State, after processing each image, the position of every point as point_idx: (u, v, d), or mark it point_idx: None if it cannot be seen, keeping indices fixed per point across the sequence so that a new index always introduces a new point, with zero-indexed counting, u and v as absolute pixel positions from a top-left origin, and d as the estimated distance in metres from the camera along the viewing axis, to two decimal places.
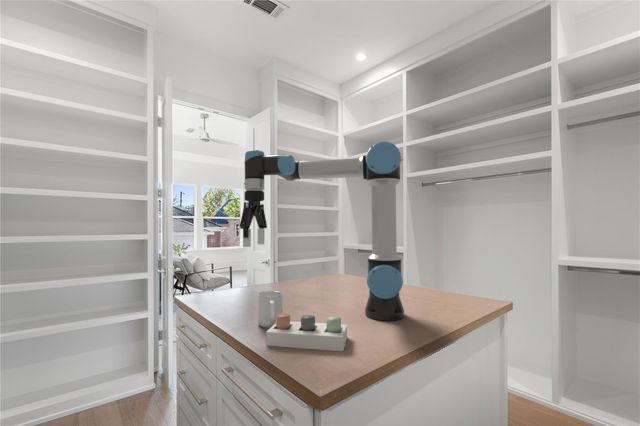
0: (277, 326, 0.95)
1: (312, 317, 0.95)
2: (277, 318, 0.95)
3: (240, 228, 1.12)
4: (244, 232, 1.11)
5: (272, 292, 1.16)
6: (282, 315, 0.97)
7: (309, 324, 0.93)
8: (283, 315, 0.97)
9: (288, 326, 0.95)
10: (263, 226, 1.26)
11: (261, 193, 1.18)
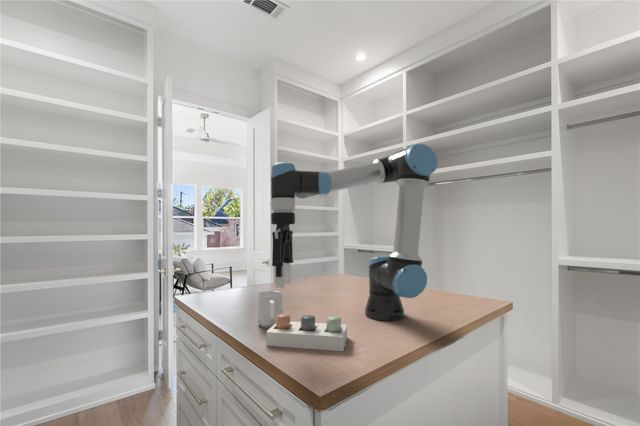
0: (277, 326, 0.95)
1: (312, 317, 0.95)
2: (277, 318, 0.95)
3: None
4: (277, 270, 0.93)
5: (272, 292, 1.16)
6: (282, 315, 0.97)
7: (309, 324, 0.93)
8: (283, 315, 0.97)
9: (288, 326, 0.95)
10: (289, 259, 1.01)
11: (292, 215, 0.96)
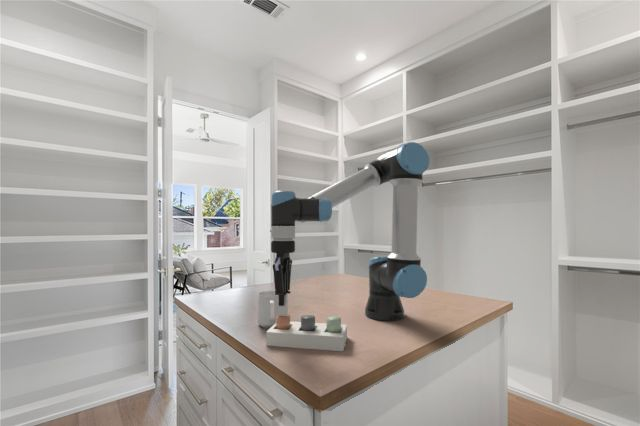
0: (277, 326, 0.95)
1: (312, 317, 0.95)
2: (277, 318, 0.95)
3: (275, 294, 0.96)
4: (280, 299, 0.95)
5: (272, 292, 1.16)
6: (282, 316, 0.97)
7: (309, 324, 0.93)
8: None
9: (288, 326, 0.95)
10: (286, 289, 0.97)
11: (292, 244, 0.96)
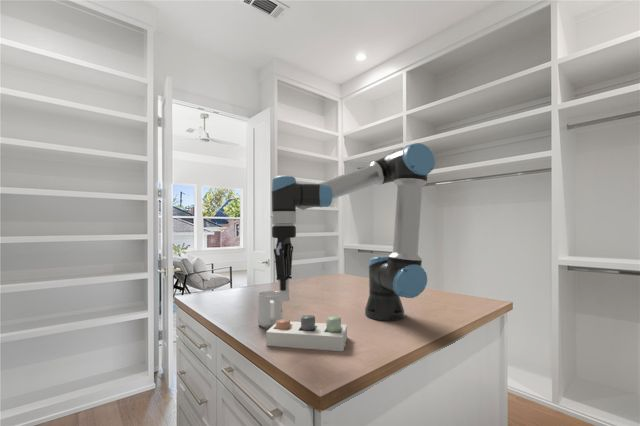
0: None
1: (312, 317, 0.95)
2: (277, 324, 0.95)
3: (277, 279, 0.96)
4: (281, 284, 0.95)
5: (272, 292, 1.16)
6: (282, 321, 0.97)
7: (309, 324, 0.93)
8: (283, 321, 0.97)
9: None
10: (288, 275, 0.98)
11: (293, 229, 0.96)
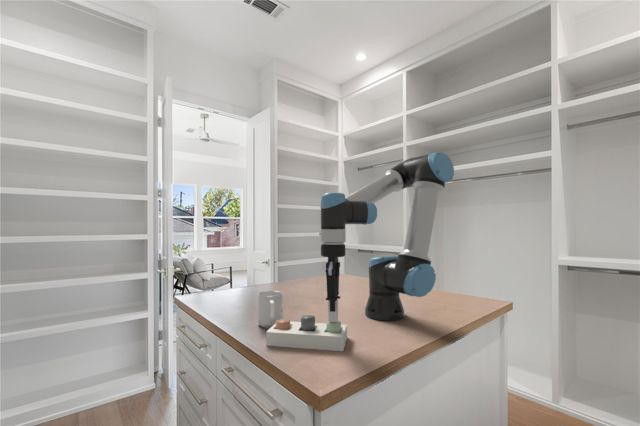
0: None
1: (312, 317, 0.95)
2: (277, 324, 0.95)
3: None
4: (331, 305, 0.92)
5: (272, 292, 1.16)
6: (282, 321, 0.97)
7: (309, 324, 0.93)
8: (283, 321, 0.97)
9: None
10: (336, 294, 0.94)
11: (343, 248, 0.92)
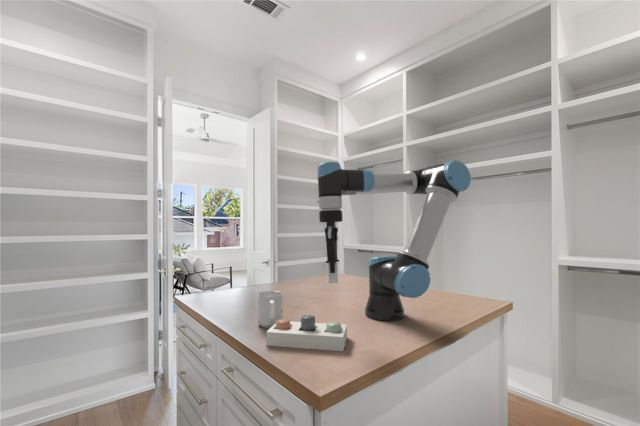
0: None
1: (312, 317, 0.95)
2: (277, 324, 0.95)
3: (326, 262, 0.99)
4: (331, 267, 0.98)
5: (272, 292, 1.16)
6: (282, 321, 0.97)
7: (309, 324, 0.93)
8: (283, 321, 0.97)
9: None
10: (335, 258, 1.01)
11: (340, 213, 0.99)
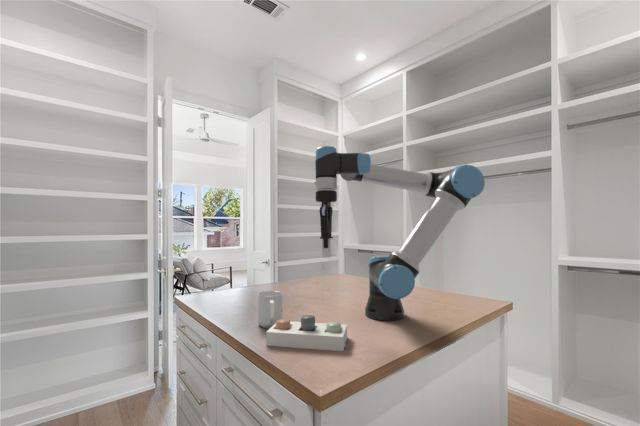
0: None
1: (312, 317, 0.95)
2: (277, 324, 0.95)
3: (320, 238, 1.08)
4: (324, 242, 1.07)
5: (272, 292, 1.16)
6: (282, 321, 0.97)
7: (309, 324, 0.93)
8: (283, 321, 0.97)
9: None
10: (329, 235, 1.10)
11: (335, 193, 1.08)
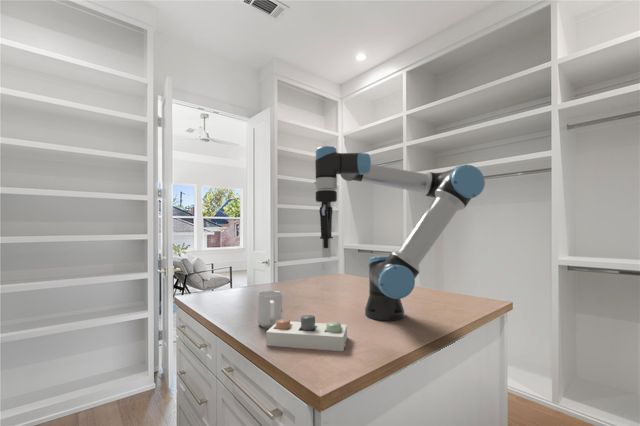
0: None
1: (312, 317, 0.95)
2: (277, 324, 0.95)
3: (320, 238, 1.08)
4: (324, 242, 1.07)
5: (272, 292, 1.16)
6: (282, 321, 0.97)
7: (309, 324, 0.93)
8: (283, 321, 0.97)
9: None
10: (329, 235, 1.10)
11: (335, 193, 1.08)
